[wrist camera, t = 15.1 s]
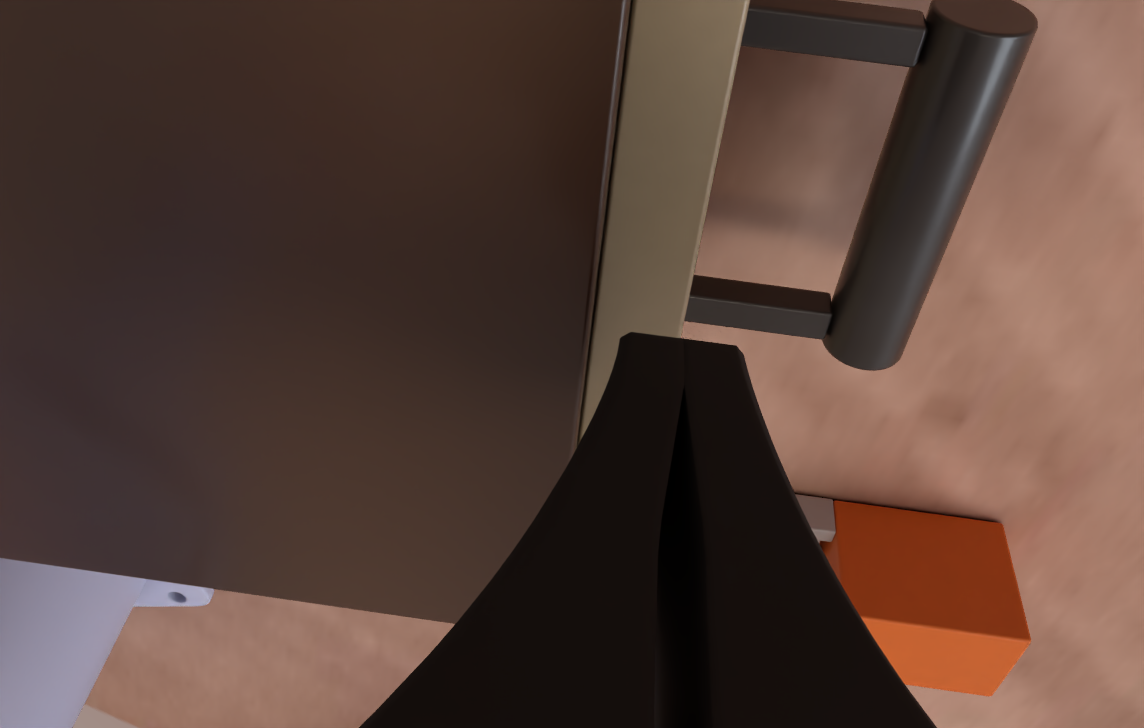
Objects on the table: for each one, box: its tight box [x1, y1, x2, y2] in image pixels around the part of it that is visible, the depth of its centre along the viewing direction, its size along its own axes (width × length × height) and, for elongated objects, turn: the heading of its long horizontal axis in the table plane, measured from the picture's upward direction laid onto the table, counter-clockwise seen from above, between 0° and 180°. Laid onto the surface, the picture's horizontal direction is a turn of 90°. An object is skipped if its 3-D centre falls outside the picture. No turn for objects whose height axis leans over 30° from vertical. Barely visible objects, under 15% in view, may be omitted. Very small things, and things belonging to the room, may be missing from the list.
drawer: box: [577, 0, 1038, 446], centre depth 15 cm, size 16×12×5 cm
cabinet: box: [0, 0, 631, 624], centre depth 15 cm, size 13×14×7 cm
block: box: [795, 494, 1031, 696], centre depth 24 cm, size 6×2×3 cm, turn 86°
